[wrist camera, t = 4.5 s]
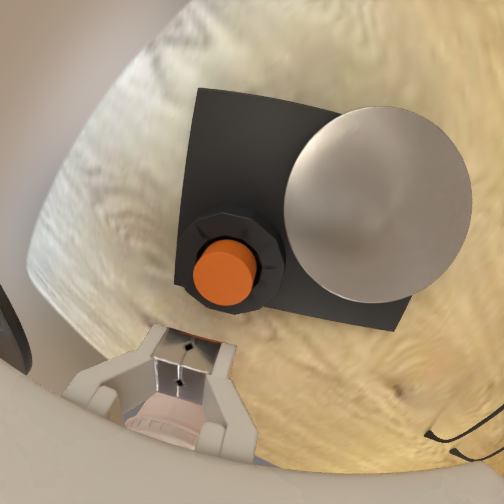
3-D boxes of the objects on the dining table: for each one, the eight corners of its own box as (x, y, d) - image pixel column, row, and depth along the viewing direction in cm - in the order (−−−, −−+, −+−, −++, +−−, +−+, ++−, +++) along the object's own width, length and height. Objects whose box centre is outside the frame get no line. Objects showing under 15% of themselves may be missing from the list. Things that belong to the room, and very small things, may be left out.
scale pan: (264, 276, 16) (263, 282, 15) (308, 81, 12) (308, 79, 11) (426, 310, 15) (430, 316, 15) (486, 148, 11) (492, 150, 11)
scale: (180, 274, 20) (164, 297, 17) (205, 90, 15) (187, 83, 12) (389, 320, 19) (399, 347, 17) (450, 155, 14) (475, 162, 12)
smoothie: (178, 378, 25) (121, 513, 12) (159, 322, 22) (71, 474, 9) (249, 384, 24) (215, 538, 11) (240, 326, 21) (187, 514, 8)
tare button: (199, 281, 17) (190, 298, 15) (205, 233, 16) (196, 246, 14) (251, 294, 17) (246, 311, 15) (261, 246, 16) (258, 260, 14)
